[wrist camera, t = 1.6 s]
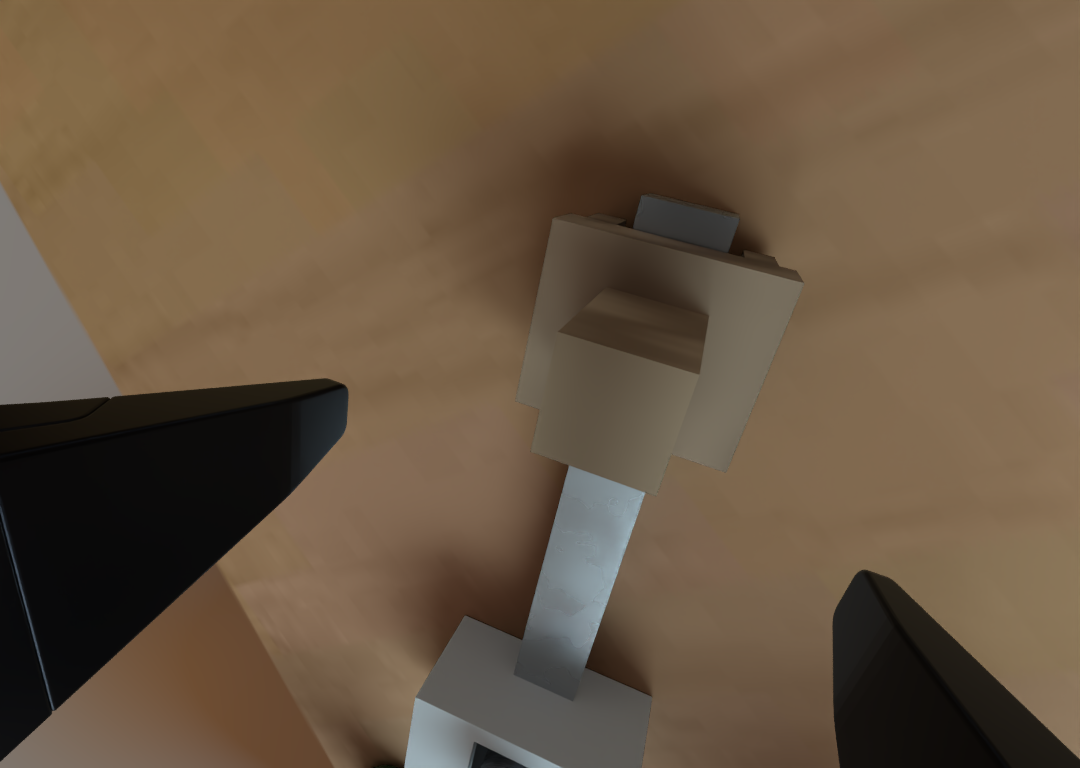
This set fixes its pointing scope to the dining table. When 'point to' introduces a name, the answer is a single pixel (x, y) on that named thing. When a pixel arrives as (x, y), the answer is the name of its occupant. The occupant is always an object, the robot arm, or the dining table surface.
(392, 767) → the soda can
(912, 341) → the dining table surface
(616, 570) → the rail
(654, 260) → the carriage
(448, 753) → the button housing
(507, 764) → the plunger
